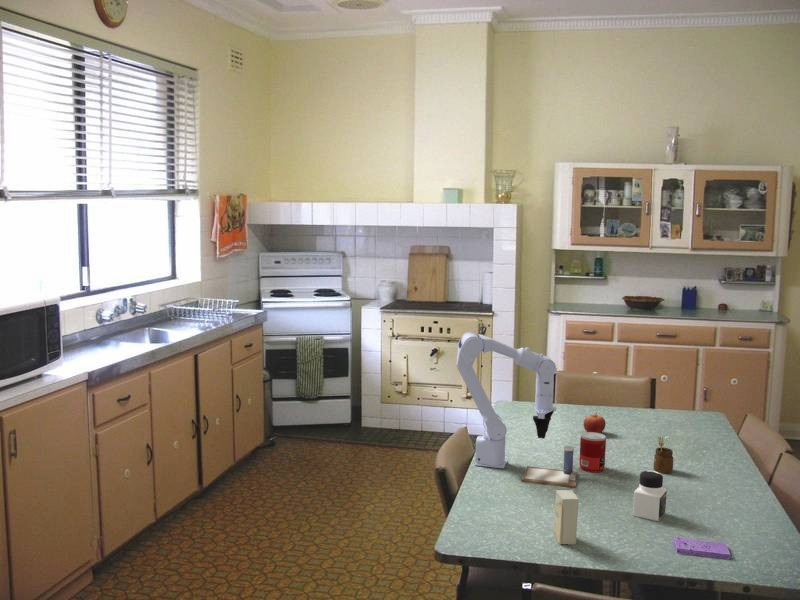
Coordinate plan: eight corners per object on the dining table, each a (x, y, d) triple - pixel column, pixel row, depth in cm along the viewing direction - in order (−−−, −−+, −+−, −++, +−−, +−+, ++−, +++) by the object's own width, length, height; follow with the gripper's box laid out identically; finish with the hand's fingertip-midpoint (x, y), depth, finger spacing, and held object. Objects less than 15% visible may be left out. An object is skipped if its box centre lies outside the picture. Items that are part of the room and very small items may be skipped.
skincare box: (552, 534, 204) (554, 489, 202) (569, 534, 204) (571, 489, 203) (559, 545, 197) (561, 498, 196) (577, 545, 198) (579, 498, 196)
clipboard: (521, 481, 242) (521, 478, 242) (527, 468, 254) (527, 464, 254) (575, 487, 237) (575, 484, 237) (577, 473, 250) (578, 470, 250)
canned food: (605, 473, 250) (606, 439, 249) (579, 471, 252) (580, 438, 251) (603, 465, 258) (605, 433, 256) (578, 463, 259) (580, 431, 258)
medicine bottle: (659, 522, 213) (661, 479, 211) (632, 516, 217) (634, 474, 215) (665, 513, 219) (668, 471, 217) (639, 507, 223) (642, 466, 221)
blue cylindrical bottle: (563, 474, 247) (564, 448, 246) (563, 471, 250) (564, 445, 249) (572, 475, 246) (573, 449, 245) (572, 471, 249) (573, 446, 248)
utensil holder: (675, 470, 254) (678, 434, 252) (667, 475, 249) (669, 438, 248) (658, 466, 258) (660, 430, 256) (649, 471, 253) (651, 434, 252)
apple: (608, 432, 295) (609, 412, 294) (601, 438, 288) (602, 416, 287) (587, 429, 299) (588, 408, 298) (580, 434, 292) (581, 413, 291)
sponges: (673, 543, 201) (673, 536, 201) (725, 549, 198) (726, 542, 198) (675, 554, 194) (676, 547, 194) (730, 561, 191) (731, 554, 191)
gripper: (554, 400, 247) (553, 442, 249) (558, 389, 261) (557, 429, 263) (532, 398, 249) (530, 440, 251) (537, 388, 263) (535, 427, 265)
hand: (542, 434), depth 257 cm, fingers open, 7 cm apart
